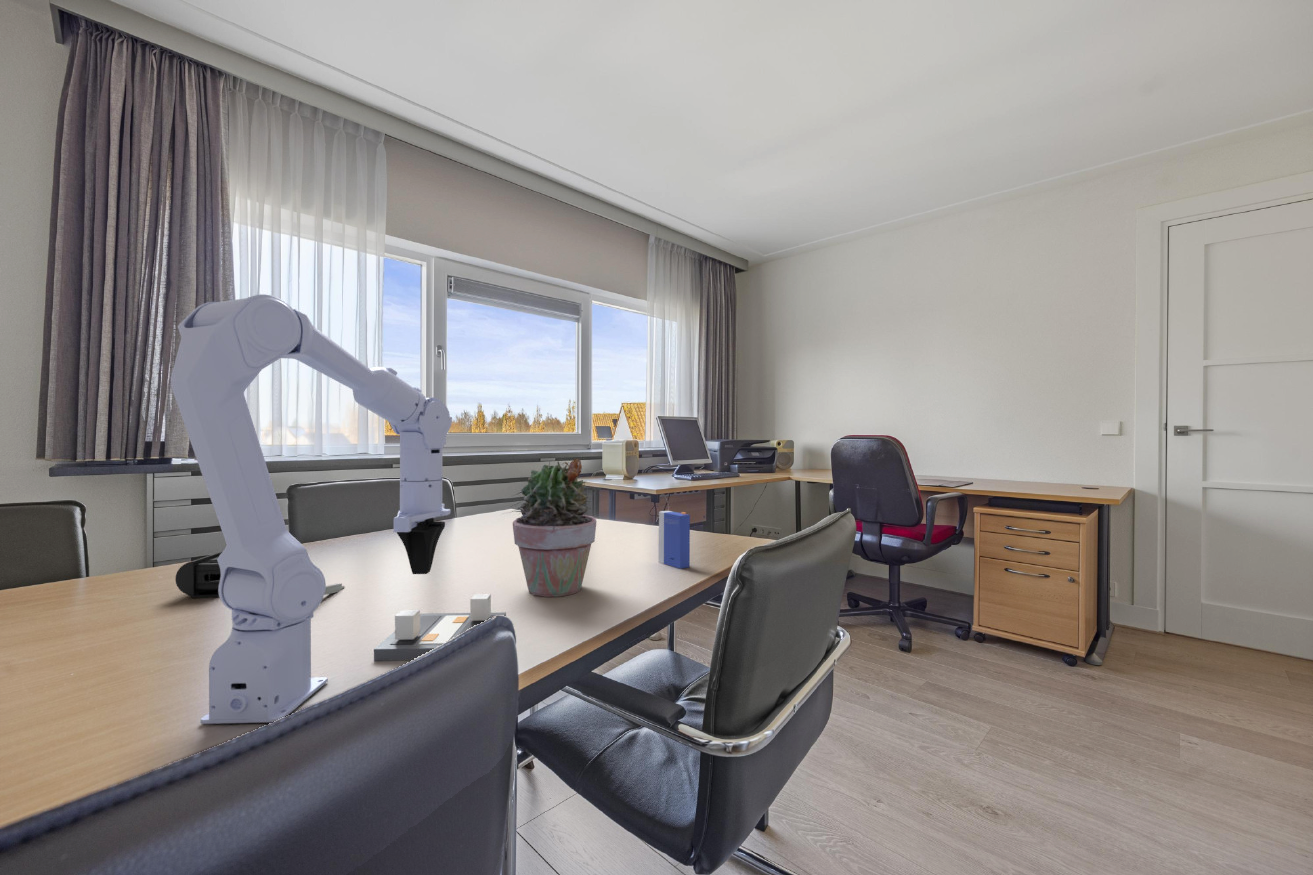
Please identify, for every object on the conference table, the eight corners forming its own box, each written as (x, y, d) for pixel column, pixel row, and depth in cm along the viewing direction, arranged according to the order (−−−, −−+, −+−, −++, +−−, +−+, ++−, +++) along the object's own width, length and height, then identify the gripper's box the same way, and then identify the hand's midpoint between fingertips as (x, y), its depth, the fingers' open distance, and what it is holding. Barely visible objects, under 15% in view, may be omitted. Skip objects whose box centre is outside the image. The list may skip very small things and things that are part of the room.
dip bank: (482, 658, 73) (482, 645, 73) (373, 660, 72) (373, 647, 72) (506, 621, 87) (506, 611, 87) (415, 623, 86) (415, 612, 86)
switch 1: (413, 639, 74) (413, 615, 74) (395, 639, 74) (394, 615, 74) (419, 632, 77) (419, 609, 77) (402, 632, 77) (402, 610, 77)
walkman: (689, 567, 122) (690, 513, 122) (680, 569, 120) (680, 514, 120) (667, 560, 128) (667, 508, 128) (658, 562, 127) (658, 509, 127)
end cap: (212, 584, 107) (212, 549, 107) (252, 583, 108) (252, 549, 108) (174, 600, 97) (174, 562, 97) (218, 598, 98) (218, 561, 98)
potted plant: (530, 572, 117) (530, 454, 116) (616, 581, 111) (616, 456, 110) (477, 597, 99) (477, 458, 99) (575, 608, 93) (576, 461, 93)
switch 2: (486, 620, 82) (486, 598, 82) (470, 620, 82) (470, 599, 82) (490, 614, 84) (490, 594, 84) (474, 615, 84) (474, 594, 84)
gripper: (431, 484, 73) (431, 586, 74) (464, 475, 88) (463, 561, 88) (377, 484, 73) (377, 587, 73) (418, 475, 87) (418, 561, 88)
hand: (421, 573), depth 81 cm, fingers closed
